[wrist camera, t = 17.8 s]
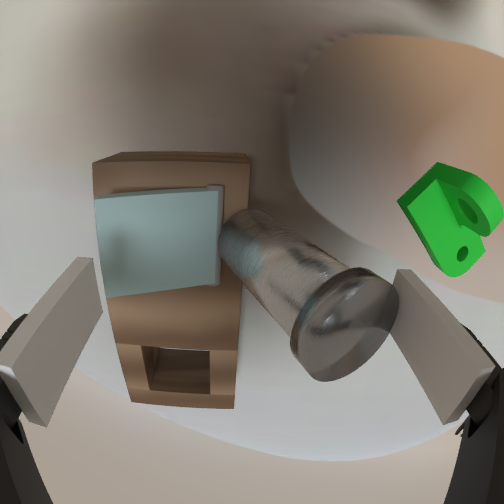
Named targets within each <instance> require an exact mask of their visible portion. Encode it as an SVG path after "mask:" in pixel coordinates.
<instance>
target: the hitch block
mask: <svg viewBox="0 0 504 504" xmlns="http://www.w3.org/2000/svg"><path fill="white" fill-rule="evenodd" d="M250 168H251V164H250V162H249V160H248V158H247V156H246V154H237V153H215V152H121V153H118V154H115V155H112V156H110V157H107V158H104V159H101V160H99V161H96V162H93V163H92V170H93V192H94V197H95V195H104V194H114V193H126V192H138V191H152V190H167V189H184V188H206V187H207V185H209V184H221V185H224V199H223V219H222V228H223V226H224V225H225V223H226V222H227V221H228V220H229V219H230V218H231V217H232V216H233V215H235V214H237V213H239V212H241V211H244V210H247V208H248V194H249V181H250ZM101 270H102V269H101ZM103 283H104V282H103ZM104 289H105V288H104ZM241 292H242V281H241V280H240V279H239V278H238V277H237V275H236V274H235V273H234V272H233V271H232V270H231V268H230V267H229V266H228V265H227V264H226V263H225V261H224V260H223V259H222V257H221V269H220V284H219V285H217V286H208V285H200V286H193V287H186V288H179V289H171V290H164V291H157V292H149V293H141V294H134V295H126V296H118V297H110V298H106V300H107V305H108V310H109V316H110V320H111V325H112V330H113V334H114V339H115V343H116V347H117V351H118V355H119V359H120V363H121V367H122V371H123V374H124V378H125V382H126V385H127V389H128V392H129V395H130V399H131V402H136V403H145V404H154V405H165V406H177V407H192V408H216V409H234V399H235V383H236V368H237V352H238V337H239V322H240V307H241ZM159 347H165V348H180V349H199V350H210V351H190V350H173V349H159Z"/></svg>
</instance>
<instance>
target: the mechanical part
mask: <svg viewBox="0 0 504 504" xmlns="http://www.w3.org/2000/svg"><path fill="white" fill-rule="evenodd" d="M397 202H398V204H399V206H400V207H401V209H402V210H403V212H404V214H405V215H406V217H407V218H408V220H409V221H410V223H411V225H412V226H413V228H414V230H415V232H416V233H417V235H418V237H419V238H420V240H421V242H422V243H423V245H424V247H425V249H426V251H427V252H428V254H429V256H430V258H431V260H432V261H433V263H434V264H435V265H436V266H437V267H438V268H439V269H440V270H441V271H443V272H444V273H445V274H446V275H447V276H450V277H457V276H460V275H462V274H464V273H465V272H466V271H467V270H468V269H469V268H470V267H471V266H472V265H473V264H474V263H475V262H476V261H477V260H478V259H479V258H480V257H481V256H482V255H483V254H484V252H485V249H484V246H483V243H482V240H481V237H480V235H481V236H484V237H487V236H489V235H490V233H491V232H492V231H493V230H494V229H495V228H496V227H497V225H498V224H499V223H500V222H501V221H502V219H503V209H502V206H501V203H500V201H499V199H498V197H497V196H496V195H495V193H494V192H493V190H492V189H491V188H490V187H489V186H488V185H487V184H486V183H485V182H484V181H483V180H482V179H481V178H479V177H478V176H476V175H474V174H472V173H469V172H466V171H464V170H461V169H457V168H455V167H452V166H448V165H445V164H442V163H439V162H436V163H435V164H434V165H433V166H432V167H431V168H430V169H429V170H428V171H427V172H426V173H425V174H424V175H423V176H422V177H421V178H420V179H419V180H418V181H417V182H416V183H415V184H414V185H413V186H412V187H410V188H409V189H408V190H407V191H406V192H405V193H404V194H403V195H402V196H401V197H400V198H399V199H398V200H397Z"/></svg>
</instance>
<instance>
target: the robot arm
mask: <svg viewBox="0 0 504 504" xmlns="http://www.w3.org/2000/svg"><path fill="white" fill-rule="evenodd" d="M393 286H394V287H395V288H396V290H397V292H398V296H399V308H398V313H397V316H396V319H395V322H394V325H393V327H392V329H391V331H390V334H391V335H392V337H393V339H394V340H395V342H396V343H397V345H398V347H399V348H400V350H401V352H402V353H403V355H404V357H405V358H406V360H407V362H408V363H409V365H410V367H411V368H412V370H413V372H414V374H415V375H416V377H417V379H418V381H419V382H420V384H421V386H422V388H423V389H424V391H425V393H426V395H427V396H428V398H429V400H430V402H431V404H432V405H433V407H434V409H435V411H436V413H437V415H438V416H439V418H440V420H441V422H442V424H443V425H445V424H448V423H451V422H454V421H457V420H458V419H459V418H460V417H461V415H462V414H463V413H464V411H465V410H467V411H468V413H469V416H468V417H467V418H466V420H465V421H464V422H463V424H462V425H461V426H460V427H459V428H458V430H457V431H456V433H455V435H458V433H459V432H460V431H461V430H462V429H464V430H463V433H462V434H461V437H462V440H461V444H460V449H459V453H458V457H457V461H456V465H455V468H454V472H453V476H452V479H451V483H450V486H449V489H448V492H447V495H446V498H445V501H444V504H504V368H503V369H502V368H501V367H500V366H499V364H498V363H497V362H496V361H495V359H494V358H493V357H492V356H491V354H490V353H489V352H488V351H487V350H486V348H485V347H484V346H482V343H481V342H480V341H479V340H477V338H476V336H475V335H474V334H473V333H472V332H471V330H469V329H468V328H467V327H465V326H464V325H462V324H461V323H460V322H459V321H458V320H457V319H456V318H455V317H454V315H453V314H452V313H451V312H450V311H449V310H448V309H447V308H446V306H445V305H444V304H443V303H442V302H441V301H440V300H439V299H438V298H437V297H436V296H435V294H434V293H433V292H432V291H431V290H430V289H429V288H428V287H427V286H426V285H425V284H424V283H423V282H422V281H421V280H420V279H419V278H418V277H417V276H416V275H415V273H414V272H413V271H412V270H410V269H397V272H396V275H395V279H394V282H393ZM102 313H103V310H102V306H101V301H100V296H99V291H98V286H97V281H96V275H95V269H94V263H93V258H85V257H77V258H76V259H75V260H74V261H73V262H72V264H71V265H70V266H69V267H68V268H67V269H66V270H65V271H64V272H63V274H62V275H61V276H60V277H59V278H58V279H57V280H56V281H55V283H54V284H53V285H52V286H51V287H50V288H49V290H48V291H47V292H46V293H45V294H44V296H43V297H42V298H41V299H40V300H39V302H38V303H37V304H36V305H35V306H34V308H33V309H32V310H31V311H30V313H29V314H24V315H22V316H21V317H19V318H18V319H16V320H15V321H14V322H13V323H12V325H11V326H10V327H9V328H8V330H7V332H5V334H4V335H3V336H2V339H0V504H53V502H52V500H51V498H50V496H49V494H48V492H47V490H46V487H45V485H44V483H43V481H42V478H41V476H40V473H39V471H38V469H37V466H36V463H35V461H34V458H33V456H32V453H31V450H30V447H29V444H28V441H27V438H26V435H25V432H24V429H23V426H22V423H21V422H20V420H19V416H20V414H21V412H23V413H24V415H25V416H26V418H27V419H28V421H29V422H32V423H35V424H38V425H41V426H44V427H47V426H48V424H49V421H50V418H51V416H52V414H53V412H54V409H55V407H56V405H57V403H58V400H59V398H60V396H61V394H62V392H63V389H64V387H65V385H66V383H67V381H68V379H69V377H70V374H71V372H72V370H73V368H74V366H75V364H76V362H77V360H78V358H79V356H80V354H81V352H82V350H83V348H84V346H85V344H86V342H87V340H88V339H89V337H90V335H91V333H92V331H93V329H94V327H95V325H96V324H97V322H98V320H99V318H100V316H101V314H102Z"/></svg>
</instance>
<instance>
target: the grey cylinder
mask: <svg viewBox="0 0 504 504" xmlns="http://www.w3.org/2000/svg"><path fill="white" fill-rule="evenodd" d="M218 250H219V253H220V256H221V257H222V259H223V260H224V261H225V263H226V264H227V265H228V266H229V267H230V268H231V270H232V271H233V272H234V273H235V274H236V275H237V277H238V278H239V279H240V280H241V281H242V282H243V284H244V285H245V286H246V287H247V288H248V289H249V291H250V292H251V293H252V294H253V295H254V296H255V298H256V299H257V300H258V301H259V302H260V303H261V304H262V306H263V307H264V308H265V309H266V310H267V311H268V312H269V314H270V315H271V316H272V317H273V318H274V319H275V320H276V322H277V323H278V324H279V325H280V326H281V327H282V328H283V330H284V331H285V332H286V333H287V334H288V335H289V336H290V346H291V351H292V353H293V355H294V357H295V358H296V359H297V360H298V361H299V363H300V364H301V365H302V366H303V367H304V368H305V370H306V371H307V372H308V373H309V374H310V375H311V376H312V377H313V378H314V379H315V380H318V381H322V382H328V381H334V380H337V379H340V378H342V377H345V376H347V375H348V374H350V373H352V372H353V371H355V370H356V369H358V368H359V367H361V366H362V365H363V364H364V363H365V362H366V361H368V360H369V359H370V358H371V357H372V356H373V355H374V353H375V352H376V351H377V350H378V349H379V348H380V346H381V345H382V344H383V342H384V341H385V339H386V338H387V336H388V334H389V333H390V331H391V329H392V327H393V325H394V322H395V319H396V316H397V313H398V308H399V296H398V292H397V290H396V288H395V287H394V286H393V285H392V284H390V283H389V282H387V281H386V280H384V279H383V278H381V277H380V276H378V275H377V274H375V273H374V272H372V271H371V270H369V269H366V268H361V267H358V268H351V269H350V268H349V267H347V266H346V265H344V264H343V263H341V262H340V261H338V260H337V259H335V258H334V257H332V256H331V255H329V254H328V253H326V252H325V251H323V250H322V249H320V248H319V247H317V246H316V245H314V244H313V243H311V242H310V241H308V240H307V239H305V238H303V237H302V236H300V235H299V234H297V233H296V232H294V231H293V230H291V229H289V228H288V227H286V226H285V225H283V224H282V223H280V222H279V221H277V220H275V219H274V218H272V217H271V216H269V215H267V214H266V213H264V212H262V211H260V210H255V209H248V210H244V211H241V212H239V213H237V214H235V215H233V216H232V217H231V218H230V219H229V220H228V221H227V222H226V223H225V225H224V226H223V228H222V230H221V232H220V235H219V239H218Z"/></svg>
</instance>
